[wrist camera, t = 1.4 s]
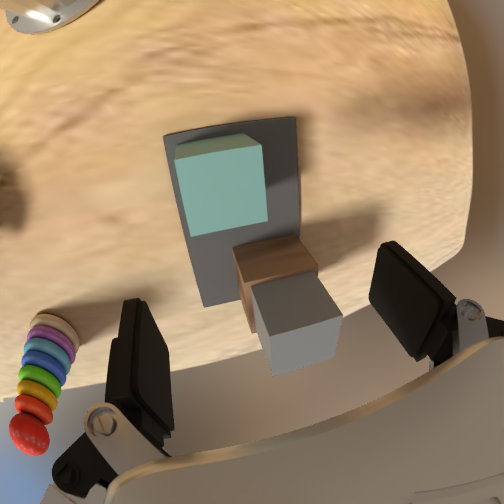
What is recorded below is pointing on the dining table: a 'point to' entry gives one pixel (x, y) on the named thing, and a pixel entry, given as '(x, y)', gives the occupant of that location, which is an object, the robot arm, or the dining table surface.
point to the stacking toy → (42, 380)
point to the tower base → (269, 266)
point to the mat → (221, 242)
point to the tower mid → (295, 322)
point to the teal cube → (221, 183)
